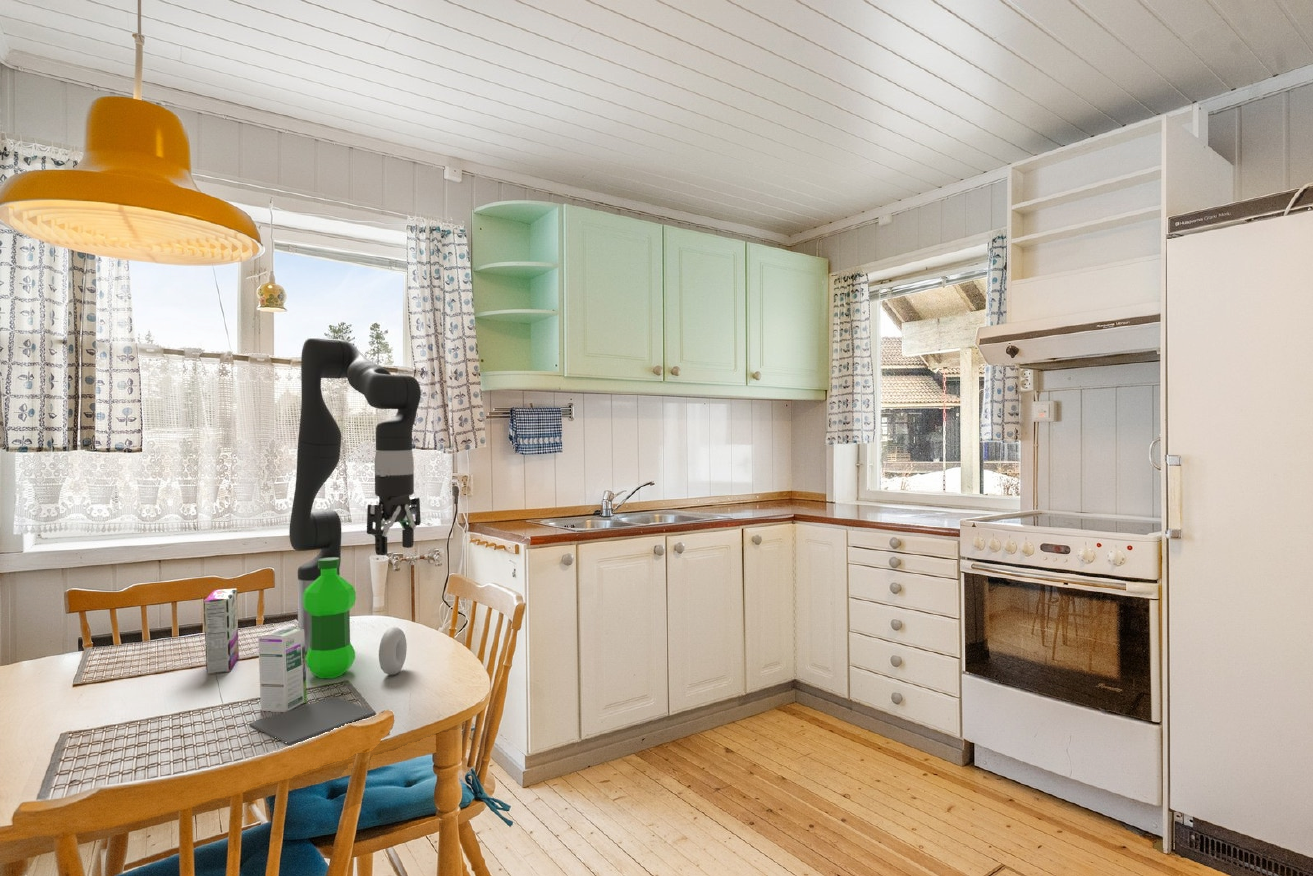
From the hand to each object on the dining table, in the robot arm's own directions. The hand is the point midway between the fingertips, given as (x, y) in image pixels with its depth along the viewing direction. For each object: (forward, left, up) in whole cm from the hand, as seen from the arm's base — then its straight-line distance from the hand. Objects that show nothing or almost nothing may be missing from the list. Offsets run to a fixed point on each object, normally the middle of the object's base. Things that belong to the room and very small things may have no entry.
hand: (395, 551), depth 148 cm
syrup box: (-8, -19, -28) cm, 35 cm away
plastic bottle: (-18, -4, -28) cm, 34 cm away
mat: (+3, -19, -28) cm, 34 cm away
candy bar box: (-44, -15, -28) cm, 54 cm away
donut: (-7, +4, -28) cm, 29 cm away
